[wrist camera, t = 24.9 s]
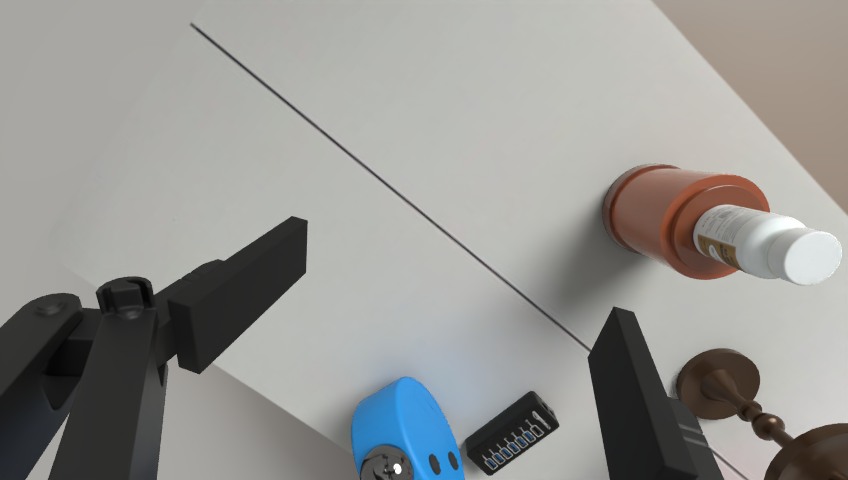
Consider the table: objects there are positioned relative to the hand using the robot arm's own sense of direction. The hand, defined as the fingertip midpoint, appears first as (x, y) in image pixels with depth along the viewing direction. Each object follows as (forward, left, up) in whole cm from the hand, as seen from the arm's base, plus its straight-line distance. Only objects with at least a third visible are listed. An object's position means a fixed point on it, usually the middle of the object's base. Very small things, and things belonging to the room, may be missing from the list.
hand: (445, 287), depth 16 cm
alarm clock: (+24, -8, -26) cm, 36 cm away
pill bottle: (+6, +22, -15) cm, 27 cm away
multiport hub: (+30, +3, -26) cm, 39 cm away
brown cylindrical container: (+6, +22, -25) cm, 34 cm away
